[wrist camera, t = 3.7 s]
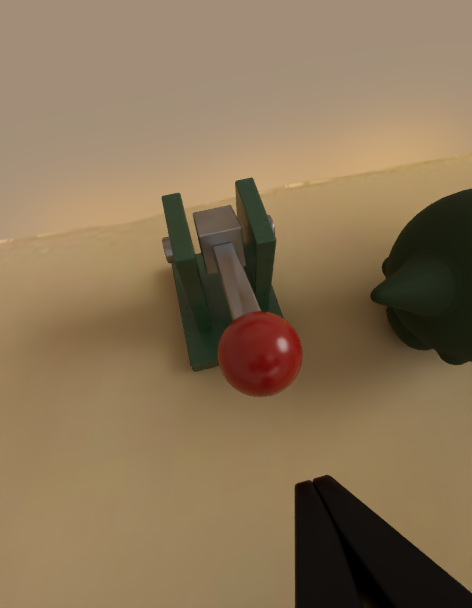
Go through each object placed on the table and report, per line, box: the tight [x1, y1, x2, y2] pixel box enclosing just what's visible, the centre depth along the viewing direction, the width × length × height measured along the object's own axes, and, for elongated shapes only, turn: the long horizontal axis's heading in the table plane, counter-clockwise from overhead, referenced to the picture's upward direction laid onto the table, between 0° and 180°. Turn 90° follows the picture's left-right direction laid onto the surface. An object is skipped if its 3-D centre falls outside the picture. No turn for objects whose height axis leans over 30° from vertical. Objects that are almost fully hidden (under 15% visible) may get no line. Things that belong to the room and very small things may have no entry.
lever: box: [193, 205, 302, 397], centre depth 15 cm, size 11×3×3 cm, turn 14°
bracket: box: [162, 178, 283, 371], centre depth 21 cm, size 9×7×10 cm
